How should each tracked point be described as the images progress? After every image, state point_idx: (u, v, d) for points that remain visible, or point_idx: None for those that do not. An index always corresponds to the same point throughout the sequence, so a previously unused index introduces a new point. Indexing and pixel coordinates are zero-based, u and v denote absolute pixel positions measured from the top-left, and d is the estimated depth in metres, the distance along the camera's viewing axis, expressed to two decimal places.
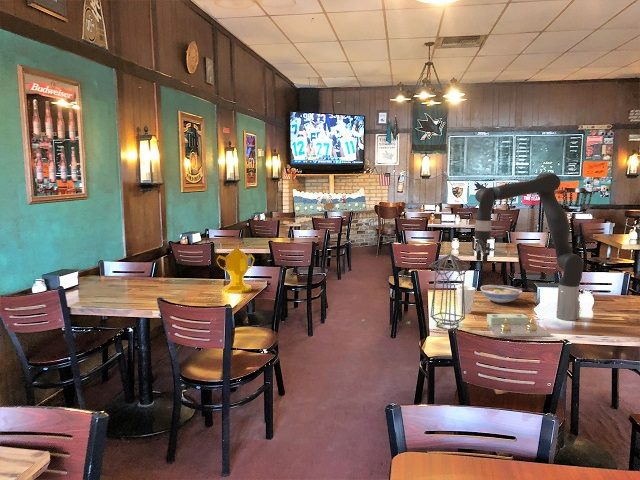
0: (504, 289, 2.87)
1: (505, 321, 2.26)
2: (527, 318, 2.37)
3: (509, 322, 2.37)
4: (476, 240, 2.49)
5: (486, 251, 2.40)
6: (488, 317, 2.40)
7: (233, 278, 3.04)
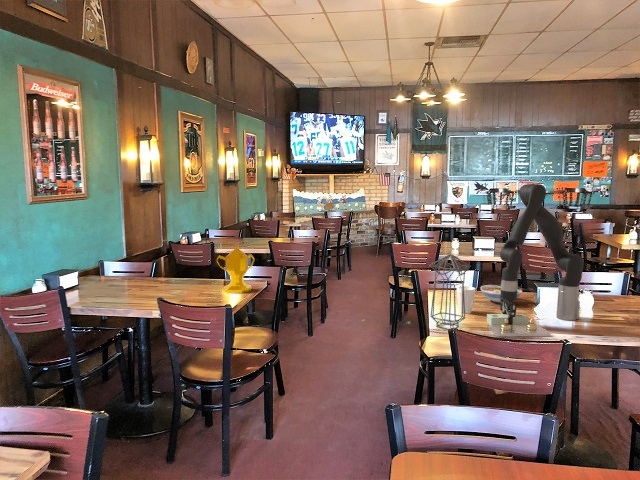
0: None
1: (505, 321, 2.26)
2: (527, 318, 2.37)
3: None
4: (501, 299, 2.44)
5: (512, 312, 2.36)
6: (488, 317, 2.40)
7: (233, 278, 3.04)
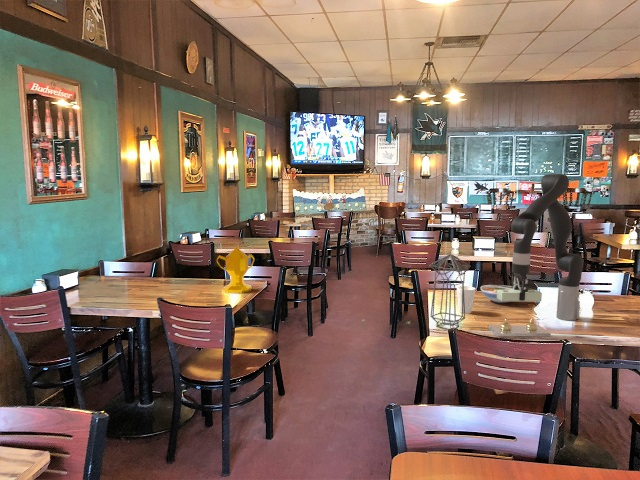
0: (504, 289, 2.87)
1: (505, 321, 2.26)
2: (540, 293, 2.22)
3: None
4: (512, 274, 2.30)
5: (524, 287, 2.22)
6: (498, 292, 2.26)
7: (233, 278, 3.04)
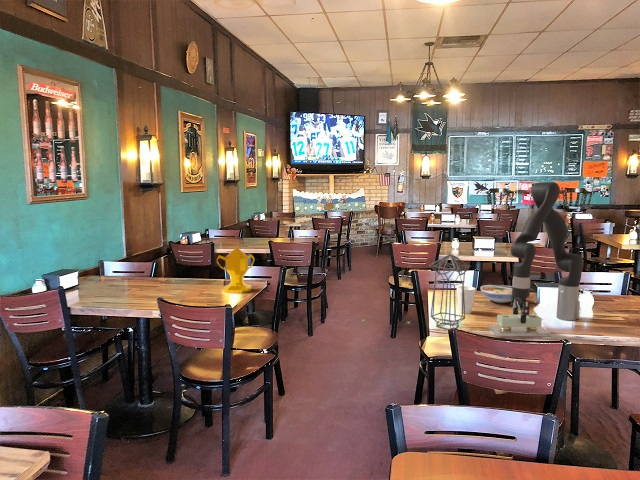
0: (504, 289, 2.87)
1: None
2: (540, 319, 2.23)
3: (521, 323, 2.23)
4: (512, 296, 2.31)
5: (525, 310, 2.22)
6: (499, 318, 2.27)
7: (233, 278, 3.04)
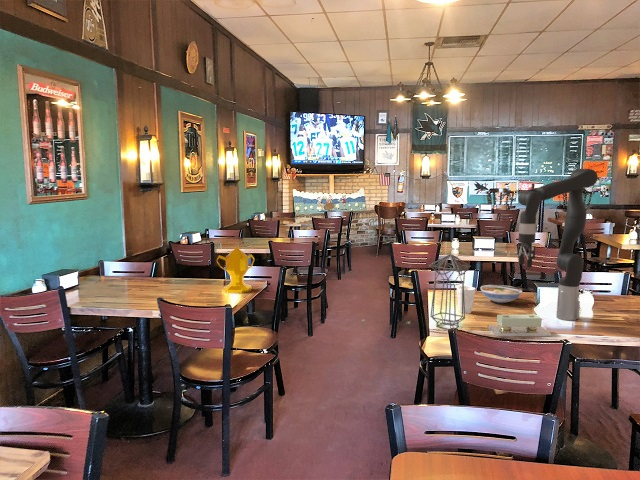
0: (504, 289, 2.87)
1: None
2: (540, 319, 2.23)
3: (521, 323, 2.23)
4: (519, 243, 2.45)
5: (531, 255, 2.36)
6: (499, 318, 2.27)
7: (233, 278, 3.04)
